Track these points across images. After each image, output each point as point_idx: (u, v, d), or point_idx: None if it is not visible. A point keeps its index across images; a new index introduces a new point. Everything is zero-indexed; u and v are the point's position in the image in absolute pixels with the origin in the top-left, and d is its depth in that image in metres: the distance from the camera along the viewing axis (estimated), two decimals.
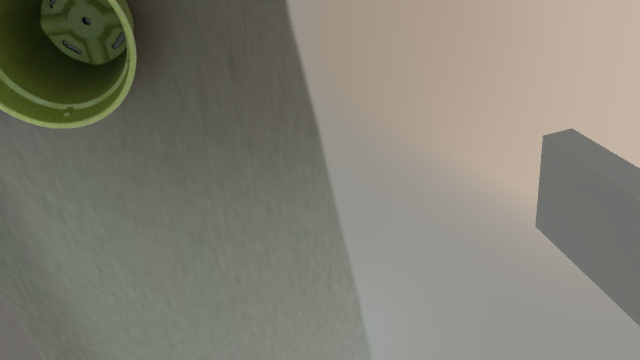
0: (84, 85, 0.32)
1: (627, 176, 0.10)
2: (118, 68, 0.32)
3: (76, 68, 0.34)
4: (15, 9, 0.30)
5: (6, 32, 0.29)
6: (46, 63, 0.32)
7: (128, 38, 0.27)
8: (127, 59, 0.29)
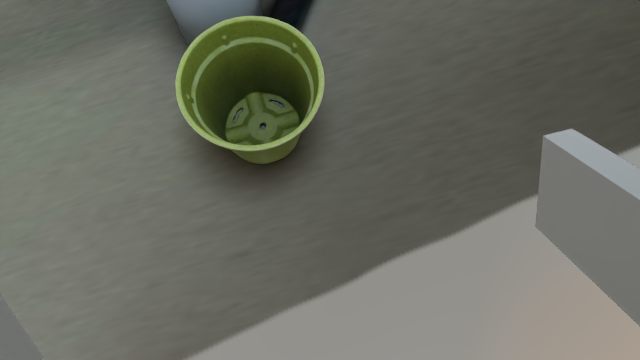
0: (210, 118, 0.35)
1: (627, 176, 0.10)
2: None
3: (221, 116, 0.38)
4: (268, 70, 0.36)
5: (250, 61, 0.35)
6: (224, 91, 0.37)
7: (268, 143, 0.30)
8: None
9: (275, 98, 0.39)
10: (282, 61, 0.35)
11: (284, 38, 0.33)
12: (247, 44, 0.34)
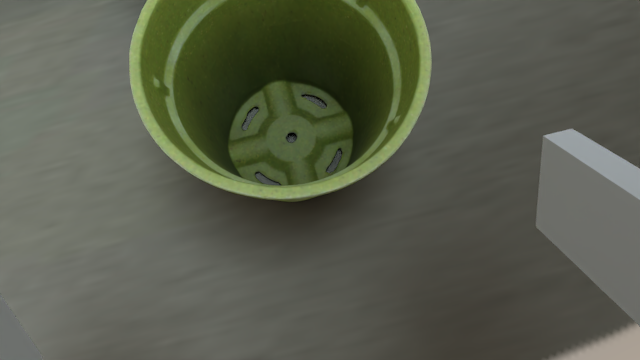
0: (201, 124, 0.19)
1: (627, 176, 0.10)
2: None
3: (222, 120, 0.22)
4: (306, 42, 0.21)
5: (275, 24, 0.20)
6: (228, 77, 0.21)
7: (319, 184, 0.14)
8: (267, 186, 0.16)
9: (312, 92, 0.24)
10: (333, 25, 0.19)
11: None
12: None
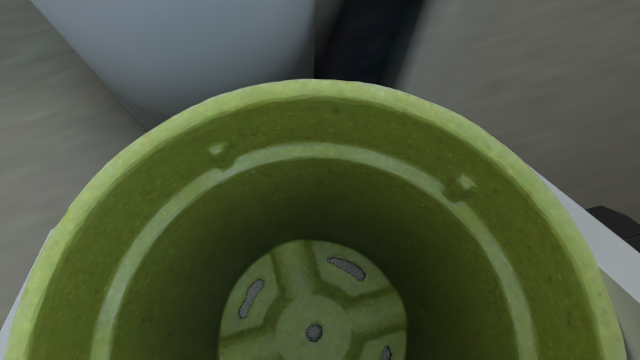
0: None
1: None
2: None
3: (208, 316, 0.14)
4: (340, 211, 0.13)
5: (293, 194, 0.12)
6: (217, 263, 0.13)
7: None
8: None
9: (343, 255, 0.16)
10: (392, 204, 0.11)
11: (430, 155, 0.09)
12: (291, 161, 0.10)
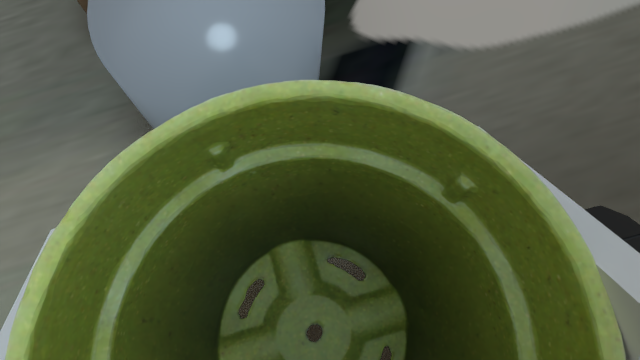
0: None
1: None
2: None
3: (208, 317, 0.14)
4: (340, 211, 0.13)
5: (293, 194, 0.12)
6: (218, 262, 0.13)
7: None
8: None
9: (343, 255, 0.16)
10: (392, 205, 0.11)
11: (429, 155, 0.09)
12: (291, 161, 0.10)
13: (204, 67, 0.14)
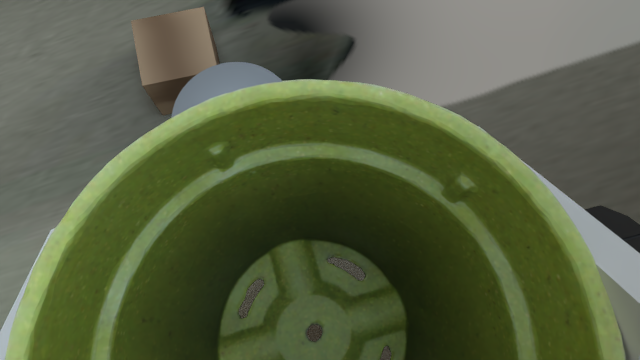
0: None
1: None
2: None
3: (208, 316, 0.14)
4: (340, 211, 0.13)
5: (293, 194, 0.12)
6: (218, 262, 0.13)
7: None
8: None
9: (342, 255, 0.16)
10: (392, 205, 0.11)
11: (429, 155, 0.09)
12: (291, 160, 0.10)
13: None
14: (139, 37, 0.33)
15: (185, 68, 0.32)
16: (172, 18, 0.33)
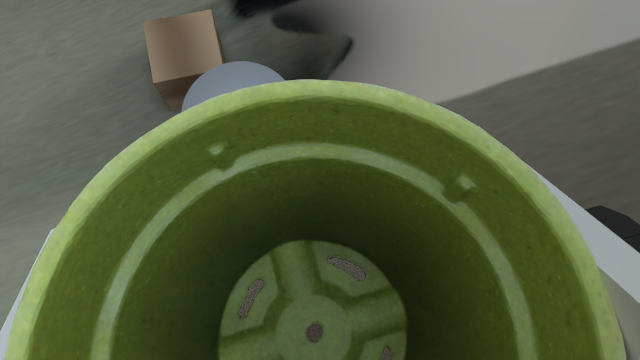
0: None
1: None
2: None
3: (208, 317, 0.14)
4: (340, 211, 0.13)
5: (293, 194, 0.12)
6: (217, 263, 0.13)
7: None
8: None
9: (343, 255, 0.16)
10: (392, 205, 0.11)
11: (430, 155, 0.09)
12: (291, 161, 0.10)
13: None
14: (150, 37, 0.35)
15: (193, 66, 0.34)
16: (181, 20, 0.35)
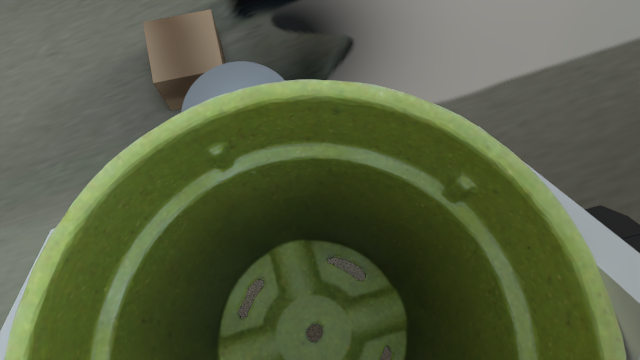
0: None
1: None
2: None
3: (208, 317, 0.14)
4: (340, 212, 0.13)
5: (293, 194, 0.12)
6: (217, 263, 0.13)
7: None
8: None
9: (343, 255, 0.16)
10: (392, 205, 0.11)
11: (430, 155, 0.09)
12: (291, 161, 0.10)
13: None
14: (150, 37, 0.35)
15: (193, 66, 0.34)
16: (181, 20, 0.35)
